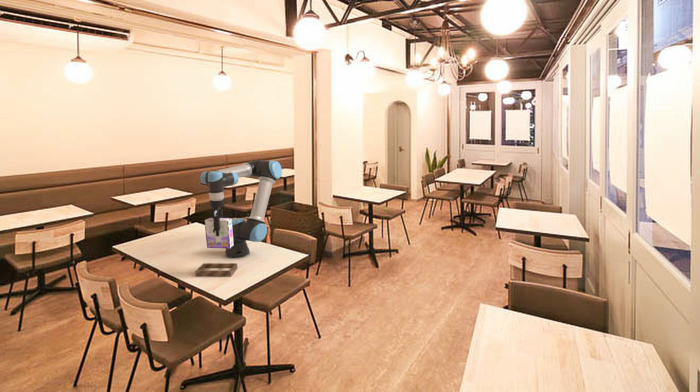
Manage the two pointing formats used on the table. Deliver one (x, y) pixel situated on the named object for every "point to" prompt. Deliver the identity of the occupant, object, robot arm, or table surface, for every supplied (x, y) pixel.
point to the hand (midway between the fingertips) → (219, 239)
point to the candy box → (224, 230)
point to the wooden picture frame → (216, 270)
